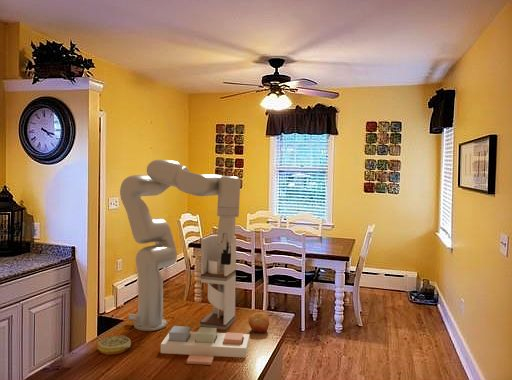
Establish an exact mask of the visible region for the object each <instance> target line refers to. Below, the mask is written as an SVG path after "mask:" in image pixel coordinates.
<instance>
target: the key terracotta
mask: <svg viewBox="0 0 512 380" xmlns="http://www.w3.org/2000/svg"><path fill="white" fill-rule="evenodd" d="M225 333H226V335H225V337H224V344H236V345H242V344H243V334H244V333H243V332H229V331H228V332H225Z"/></svg>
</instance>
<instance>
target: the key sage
mask: <svg viewBox="0 0 512 380" xmlns="http://www.w3.org/2000/svg"><path fill="white" fill-rule="evenodd" d="M217 330H218V329H217V328H206V327H199V328H198V330H197V331H196V332H197V333H196V342H197V343H214V341H215V339H216V337H217V333H218V331H217Z"/></svg>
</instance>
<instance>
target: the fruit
mask: <svg viewBox="0 0 512 380" xmlns="http://www.w3.org/2000/svg"><path fill="white" fill-rule="evenodd" d="M247 322H248V325H249V327H250V329H251V330H252V332H253V333H265V332H267V331H268V329H269V326H270V317H269V316H268V315H267V314H266V313H265V312H263V311H258V312H254V313H252V314H251V315H250V316H249V317H248V321H247Z"/></svg>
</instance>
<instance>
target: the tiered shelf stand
mask: <svg viewBox="0 0 512 380" xmlns="http://www.w3.org/2000/svg"><path fill="white" fill-rule="evenodd" d="M217 237H218V234H211V235H208V236H206V237H203V238H201V239H200V241H201V242H200V243H201V245H200V248H201V249H200V250H201V251H200V283H203V284H205V283H206V284H207V300H208V302H209V303H210V304H211V306H212V312H210V313H209V314H207V315H206V316H205V317H204V318H203V319H202V320H200V321H199V322H200V324H199V326H200V327H206V328H217V330H223V331H225V330H227V329H228V328H229V327H230V326H231V325H232V324H233V323H234V322H235V321H236V278H237V276H236V273H237V272H236V271H237V270H236V269H237V266H236V265H237V235H235V237H234V242H233V243H232V245H231V252H230V253H231V263H230V265H223V264H221V253H222V243H221V244H220V245H217ZM200 327H199V328H200Z"/></svg>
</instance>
